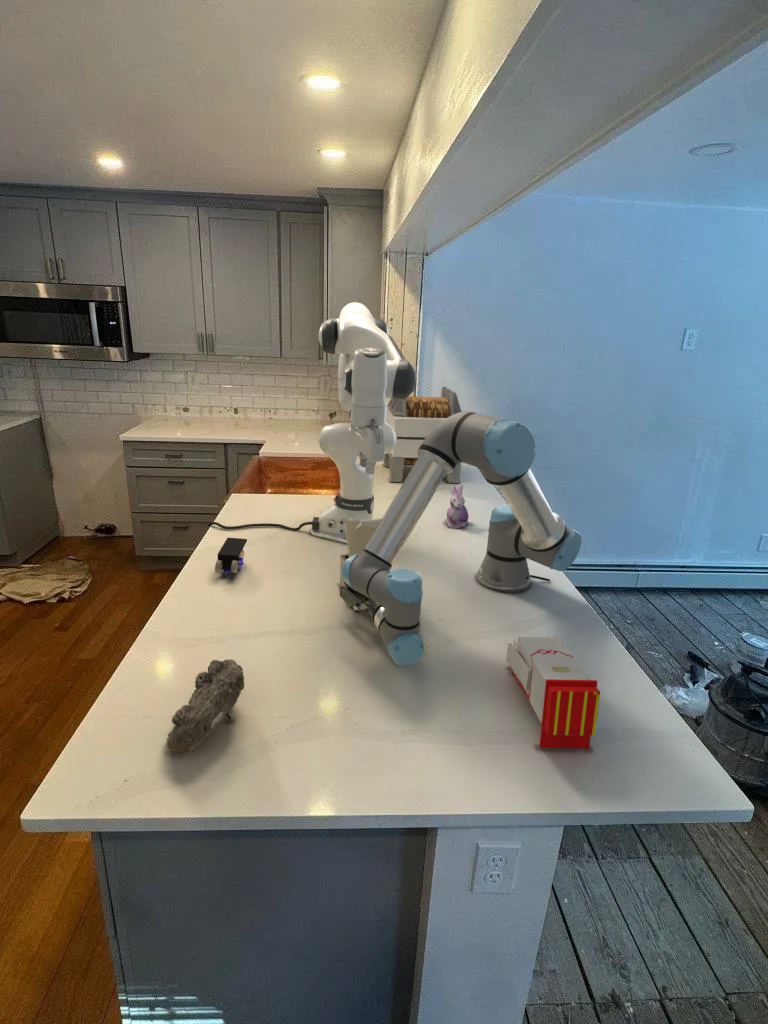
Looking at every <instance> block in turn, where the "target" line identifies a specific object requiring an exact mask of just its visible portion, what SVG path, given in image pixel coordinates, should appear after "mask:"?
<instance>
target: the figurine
mask: <svg viewBox="0 0 768 1024" xmlns="http://www.w3.org/2000/svg"><path fill="white" fill-rule="evenodd" d="M463 490H464V485H463V484H460V485H459V487H457V488H456V487H455V485H451V487H450V491H451V496H450V499H449V504H450V507H449V508H447V510H446V519H445V524H446V525H447V527H449V528H452V529H453V528H454V529H459V528H464V527H466V525H468V520H469V513H468V509H467V507H466V506H465V503H466V501H465V497H464V494H463Z"/></svg>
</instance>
